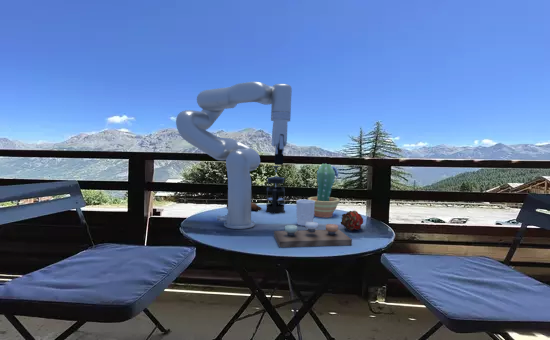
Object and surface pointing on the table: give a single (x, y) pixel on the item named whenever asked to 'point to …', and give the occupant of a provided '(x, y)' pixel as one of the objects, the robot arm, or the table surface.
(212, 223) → the table surface
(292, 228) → the sage button
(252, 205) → the sunglasses case
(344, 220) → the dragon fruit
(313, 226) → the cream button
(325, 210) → the potted cactus
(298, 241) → the button panel
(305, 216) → the white cup
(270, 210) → the french press
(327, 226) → the terracotta button
